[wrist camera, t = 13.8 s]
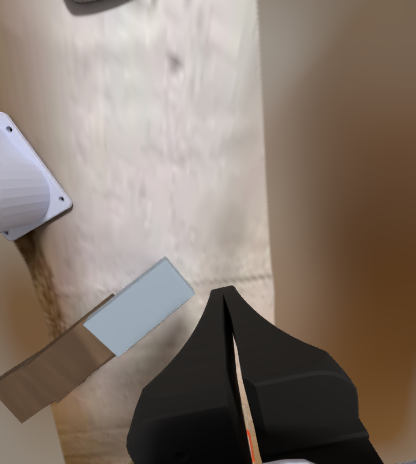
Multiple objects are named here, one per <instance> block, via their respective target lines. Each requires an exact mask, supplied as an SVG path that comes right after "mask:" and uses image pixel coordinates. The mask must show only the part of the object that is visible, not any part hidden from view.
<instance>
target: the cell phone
mask: <svg viewBox="0 0 416 464" xmlns="http://www.w3.org/2000/svg"><path fill="white" fill-rule="evenodd" d="M72 1H74V2H78V3H87V2H93V1H98V0H72Z"/></svg>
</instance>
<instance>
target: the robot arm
mask: <svg viewBox="0 0 416 464" xmlns="http://www.w3.org/2000/svg"><path fill="white" fill-rule="evenodd" d="M10 128H12V132H11V131H10ZM61 197H63V198H64V201H62V199H61ZM71 206H72V202H71V200H70V199H69V197H68V196H67V195H66V193H65V192H64V191H63V189H62V188H61V186H60V185H59V184H58V182H57V181H56V180H55V178H54V177H53V176H52V174H51V173H50V171H49V170H48V169H47V167H46V166H45V165H44V163H43V162H42V161H41V159H40V158H39V157H38V155H37V154H36V152H35V151H34V150H33V148H32V147H31V146H30V144H29V143H28V142H27V140H26V139H25V137H24V136H23V135H22V133H21V132H20V131H19V129H18V128H17V127H16V125H15V124H14V122H13V121H12V120H11V118H10V117H9V116H8V115H7V114H5V113H3V112H0V233H2V234H3V235H4V236H5V237H6V238H7V239H8V240H10V241H13V240H16V239H18V238H20V237H21V236H23V235H25V234H26V233H28V232H30V231H31V230H33V229H35V228H36V227H38V226H40V225H42V224H43V223H45V222H47V221H48V220H50V219H52V218H53V217H55V216H57V215H59V214H60V213H62V212H64V211H65V210H67V209H69V208H70V207H71ZM7 231H8V232H9V233H8V232H7ZM233 336H234V339H235V342H236V346H237V350H238V356H239V362H240V368H241V374H242V380H243V384H244V388H245V392H246V396H247V400H248V404H249V408H250V412H251V416H252V420H253V424H254V428H255V433H256V438H257V443H258V447H259V452H260V457H261V460H262V464H384V463H383V462H382V460H381V458H380V457H379V455H378V454H377V452H376V451H375V449H374V447H373V446H372V444H371V443H370V441H369V439H368V438H369V434H368V432H367V430H366V429H365V427H364V426H363V424H362V422H361V421H360V419H359V412H358V394H357V389H356V387H355V385H354V384H353V383H352V381H351V379H350V378H349V377H348V375H347V374H346V373H345V371H344V370H343V369H342V368H341V367H340V366H339V364H338V363H337V362H336V361H335V360H334V359H333V358H332V357H331V356H330V355H329V354H328V353H327V352H326V351H324V350H321V349H319V348H317V347H314V346H312V345H309V344H307V343H304V342H302V341H300V340H298V339H296V338H294V337H292V336H290V335H289V334H287V333H285V332H284V331H282V330H280V329H278V328H277V327H275V326H274V325H273V324H271V323H270V322H268V321H267V320H266V319H264V318H263V317H262V316H261V315H259V314H258V313H257V312H256V311H255V310H254V309H253V308H252V307H251V306H250V305H249V304H248V303H247V302H246V301H245V300H244V299H243V298H242V297H241V295H240V294H239V293H238V291H237V290H236V288H235V287H234V286H233V285H231V286H227V287H222V288H218V289H213V290H212V291H211V293H210V297H209V300H208V303H207V305H206V308H205V310H204V312H203V315H202V317H201V319H200V321H199V323H198V325H197V326H196V328H195V330H194V332H193V333H192V335H191V336H190V338H189V339H188V341H187V342H186V344H185V345H184V347H183V348H182V349H181V350H180V352H179V353H178V354H177V355H176V357H175V358H174V359H173V360H172V361H171V362H170V363H169V364H168V365H167V367H166V368H165V369H164V370H163V371H162V372H161V373H160V374H159V375H158V376H156V377H155V378H154V379H153V380H152V381H151V382H150V383H149V384H148V385H147V386H146V387H145V388H143V390H142V393H141V396H140V398H139V401H138V403H137V406H136V409H135V412H134V416H133V419H132V423H131V426H130V429H129V433H128V436H127V445H126V447H127V450H128V453H129V455H130V457H131V459H132V461H133V463H134V464H253V462H252V457H251V452H250V446H249V441H248V435H247V430H246V425H245V419H244V414H243V408H242V403H241V397H240V392H239V386H238V380H237V373H236V363H235V352H234V342H233ZM397 464H416V460H413V461H408V462H402V463H397Z"/></svg>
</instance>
